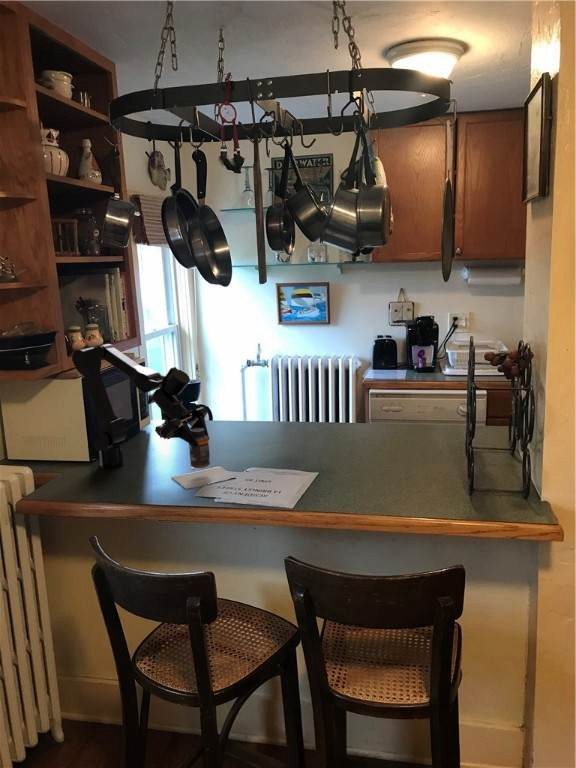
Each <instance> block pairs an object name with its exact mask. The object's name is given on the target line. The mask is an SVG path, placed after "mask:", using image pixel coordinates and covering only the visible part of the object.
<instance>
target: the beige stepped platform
mask: <svg viewBox="0 0 576 768" xmlns="http://www.w3.org/2000/svg"><path fill="white" fill-rule="evenodd" d="M226 473H230V471H227V470H226V469H224V468H223V467H222V466H220V465H219V466H215V467H210V468H206V469H201V470H196V471H192V472H191V471H190V472H188V473H183V474H177V475H174V476H171V479H172V478H173V479H174V480H175V481H174V480H173V479H172V480H173V481H174V482H175V483H177V482H178V483H179V484H180V485H179V484H178V483H177V484H178V485H179V486H180V487H182V488H183V487H184V488H185V489H184V488H183V489H184V490H186V489H187V490H190V489H189V488H191V489H194V488H199V487H203V485H204V486H207V485H206V484H208V483H211V482H212V481H215V480H216V479H217V478H220V477H222V476H221V475H223V476H225V474H226ZM228 475H229V474H228ZM208 485H209V484H208Z"/></svg>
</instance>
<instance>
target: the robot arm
mask: <svg viewBox="0 0 576 768" xmlns="http://www.w3.org/2000/svg"><path fill="white" fill-rule="evenodd" d="M102 359H103V360H104V361H106V362H107V363H109V364H110V365H111V366H113V367H114V368H116V370H118V371H120V372H122V373H123V374H124V375H126V376H127V377H129V379H130V380H131V382H132V385H133V386H134V387H136V388H137V390H138V391H139V392H140V393H149V392H153V391H154V392H153V393H151V394H148V395H147V397H148V398H147V405H151V404H153V403H155V405H156V406H158V408H159V409H160V411H162V413H163V414H162V418H163V419H164V422H163V423H161V425H157V426H155V429H154V432H155V433H156V434H157V435H158V436H159V438H161V439H162V438H163V439H164V440H166V439H167V440H170V439H181V440H183V441H184V442H186V443H188V445H189V444H191V445H193V446H194V447H197V446H198V443H197V441H196V439H195V437H194V435H193V434H192V432H191V430H192V429H195V428H203V429H204V431H205V435H206V436H208V441H210V436H209V433H208V429H207V428H208V427H207V425H206V419H205V418H206V416H207V414H209V411H208V410H207V409H206V408H205V407H203V406H200V407H198V408H196V409H194V410H193V411H192V410H191V409H188V410H187V409H186V407H185V406H184V405H183V403H184V401H183V400H182V399H179V400H178V398H177V397H176V396H178V395H180V394H181V393H182V392H183V390H184V389H185V388H186V387H187V386H188V384H189V383H190V382H191V379H190V376H189V375H188V373H186V372H184V371H183V370H181V369H179V368H177V367H176V366H172V367H171V368H169V370H168V372H167V373H166V374H165V375H164V374H161V373H160V372H159V371H157V370H155V369H152V368H150V367H146V366H142V365H140V364H138V363H137V362H136V361H134V360H132V359H131V358H130V357H129V356H127V355H126V354H124V353H123V352H121V351H120V350H119V349H117V348H115V347H114V345H113V344H110V343H105V344H100V345H98V346H96V347H93V346H90V347H86V348H85V347H84V348H80V349H76V350H74V352H73V354H72V355H71V360H72V363H73V365H74V367H75V369H76V371H77V372H78V373H79V374H80V375H81V376H82V377H83V378H84V380H85V383H86V385H87V388H88V390H89V394H90V397H91V399H92V403H93V406H94V408H95V412H96V413H97V417H98V425H97V433H98V437H97V439H96V440H95V441H94V443H93V444H92V446H93V448H94V450H95V451H98V452H99V453H98V454H99V463H98V464H99V466H100V467H101V469H102V470H107V469H113V468H118V467H123V466H124V454H123V450H122V449H121V446H122V445H124V444H125V439H126V437H127V430H128V428H127V427H126V424H125V419H124V418H122V417H120V418H119V417H118V416H117V415H115V413H114V410H113V406H112V404H111V400H110V398H109V395H108V393H107V390H106V389H107V388H106V387H105V383H104V381H103V377H102V376H101V375H102V374H101V368H102ZM189 426H190V427H189Z"/></svg>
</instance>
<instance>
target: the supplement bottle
mask: <svg viewBox="0 0 576 768" xmlns="http://www.w3.org/2000/svg"><path fill="white" fill-rule="evenodd" d="M191 432H192V434H193V435H194V437H195V439H196V441H197V443H198V446H197V447H194V446H193V445H191V444H189V443H188V448H189V449H188V450H189V460H190V462H189V463H190V467H191V468H192V467H194V469H203V468H207V467H208V466H210V465H211V456H210V453H211V452H210V443H209V441H210V440H208V436H206V435H205V431H204V429H203V428H195V429H192V430H191Z"/></svg>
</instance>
